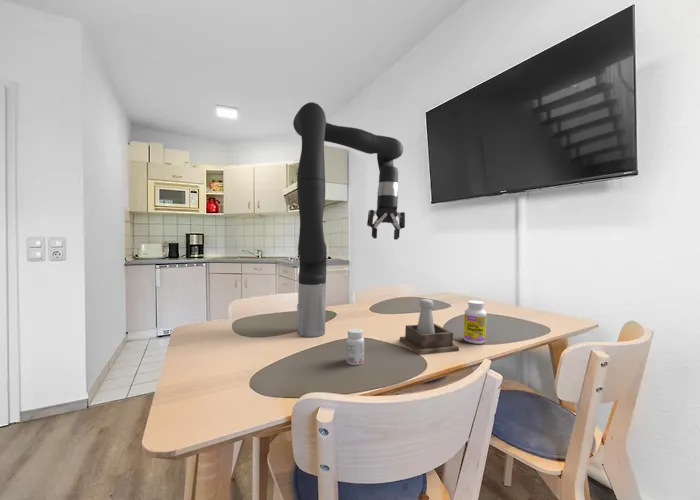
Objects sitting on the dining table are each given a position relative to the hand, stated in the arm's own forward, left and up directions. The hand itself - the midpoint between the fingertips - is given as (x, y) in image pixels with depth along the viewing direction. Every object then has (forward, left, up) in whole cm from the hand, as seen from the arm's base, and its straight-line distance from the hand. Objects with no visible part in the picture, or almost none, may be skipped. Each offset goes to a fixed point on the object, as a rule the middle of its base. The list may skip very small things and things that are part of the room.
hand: (385, 239), depth 119 cm
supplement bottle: (+22, -24, -33) cm, 46 cm away
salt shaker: (+5, -23, -32) cm, 39 cm away
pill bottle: (-21, -31, -33) cm, 50 cm away
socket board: (+5, -24, -32) cm, 41 cm away
